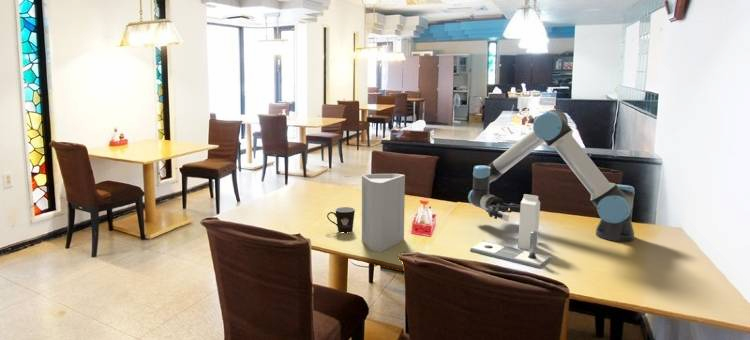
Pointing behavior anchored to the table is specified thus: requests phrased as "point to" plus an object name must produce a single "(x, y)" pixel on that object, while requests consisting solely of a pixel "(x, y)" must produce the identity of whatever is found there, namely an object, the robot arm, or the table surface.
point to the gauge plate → (510, 254)
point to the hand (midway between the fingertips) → (522, 216)
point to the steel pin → (533, 244)
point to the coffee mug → (344, 219)
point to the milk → (528, 220)
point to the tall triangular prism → (382, 210)
